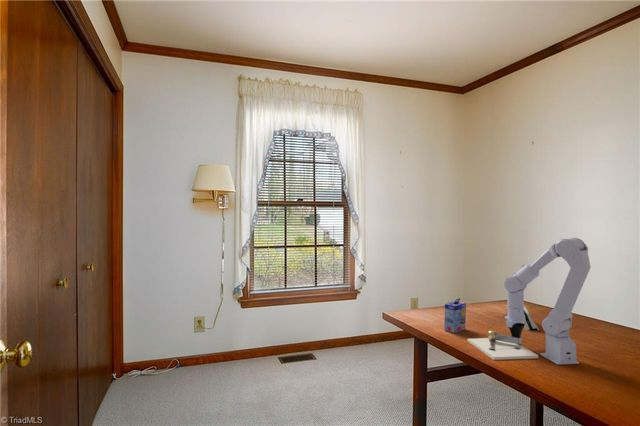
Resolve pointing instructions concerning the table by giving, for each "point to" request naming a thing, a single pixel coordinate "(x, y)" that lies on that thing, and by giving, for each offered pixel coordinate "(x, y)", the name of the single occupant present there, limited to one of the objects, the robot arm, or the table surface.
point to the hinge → (529, 321)
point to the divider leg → (504, 337)
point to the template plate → (502, 349)
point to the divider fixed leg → (492, 345)
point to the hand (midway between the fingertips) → (516, 341)
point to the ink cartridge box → (455, 316)
